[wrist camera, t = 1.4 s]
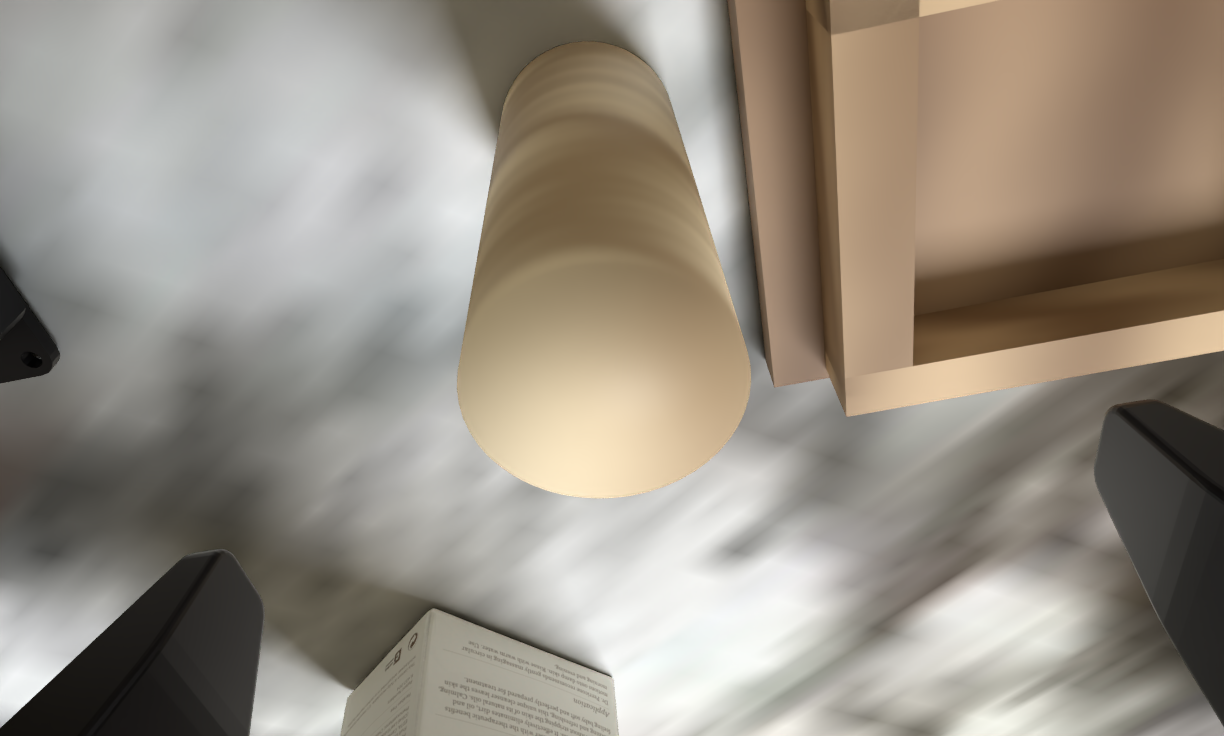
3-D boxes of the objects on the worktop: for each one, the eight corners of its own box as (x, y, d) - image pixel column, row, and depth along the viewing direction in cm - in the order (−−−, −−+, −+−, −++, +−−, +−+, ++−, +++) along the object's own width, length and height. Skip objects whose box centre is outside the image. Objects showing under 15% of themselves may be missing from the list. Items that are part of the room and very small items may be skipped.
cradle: (765, 361, 24) (814, 507, 19) (720, -67, 17) (776, -2, 13) (1345, 255, 23) (1545, 384, 18) (1523, -245, 16) (1904, -244, 12)
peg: (525, 224, 21) (501, 518, 13) (480, 62, 19) (416, 296, 11) (685, 192, 21) (763, 473, 13) (659, 23, 18) (734, 235, 10)
